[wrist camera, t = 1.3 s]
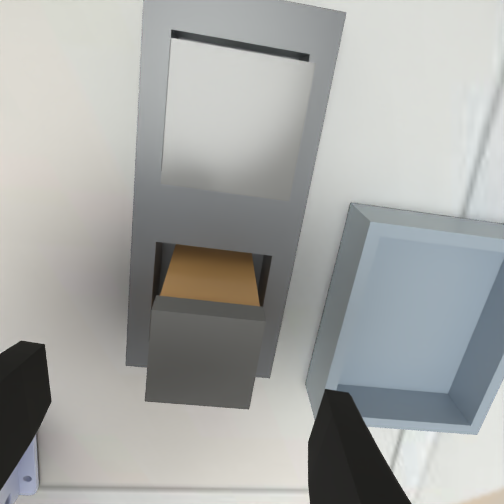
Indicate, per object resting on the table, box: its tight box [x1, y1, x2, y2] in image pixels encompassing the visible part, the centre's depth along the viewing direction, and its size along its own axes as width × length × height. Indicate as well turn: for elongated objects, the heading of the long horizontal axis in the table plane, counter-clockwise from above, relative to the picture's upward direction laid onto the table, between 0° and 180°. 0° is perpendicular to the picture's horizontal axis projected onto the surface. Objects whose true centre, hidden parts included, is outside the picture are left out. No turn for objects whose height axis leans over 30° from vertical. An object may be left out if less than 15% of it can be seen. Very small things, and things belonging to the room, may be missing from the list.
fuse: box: [161, 38, 316, 201], centre depth 15 cm, size 4×4×7 cm
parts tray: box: [305, 203, 504, 435], centre depth 21 cm, size 11×9×3 cm
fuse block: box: [126, 0, 346, 378], centre depth 18 cm, size 16×7×3 cm, turn 171°
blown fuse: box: [145, 244, 266, 409], centre depth 17 cm, size 4×4×7 cm
